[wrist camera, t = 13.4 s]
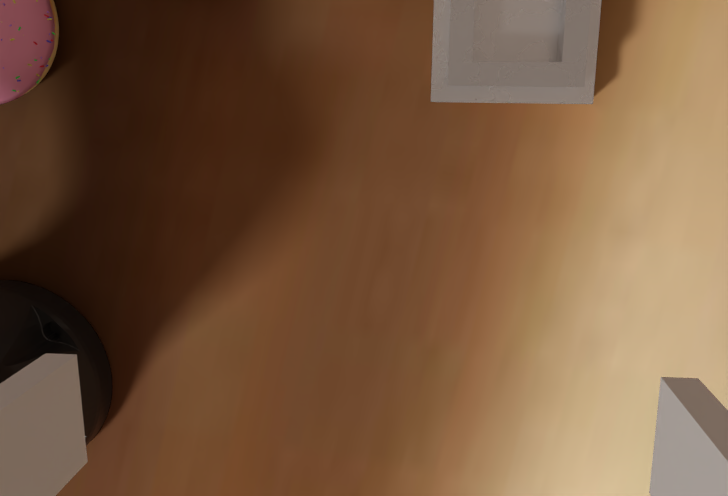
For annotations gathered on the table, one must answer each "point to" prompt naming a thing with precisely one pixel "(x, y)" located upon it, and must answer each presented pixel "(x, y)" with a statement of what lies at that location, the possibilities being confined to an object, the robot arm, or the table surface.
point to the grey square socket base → (515, 51)
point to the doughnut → (26, 45)
